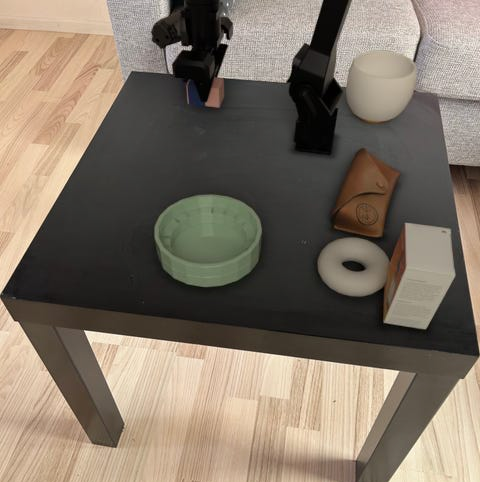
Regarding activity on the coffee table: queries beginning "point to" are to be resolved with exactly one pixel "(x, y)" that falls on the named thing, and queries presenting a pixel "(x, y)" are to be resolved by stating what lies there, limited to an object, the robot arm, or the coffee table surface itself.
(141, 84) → the coffee table surface
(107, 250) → the coffee table surface
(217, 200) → the bowl
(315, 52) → the robot arm
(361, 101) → the cup
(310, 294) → the coffee table surface
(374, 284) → the donut
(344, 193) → the sunglasses case
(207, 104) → the eraser
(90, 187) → the coffee table surface
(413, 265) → the small box
